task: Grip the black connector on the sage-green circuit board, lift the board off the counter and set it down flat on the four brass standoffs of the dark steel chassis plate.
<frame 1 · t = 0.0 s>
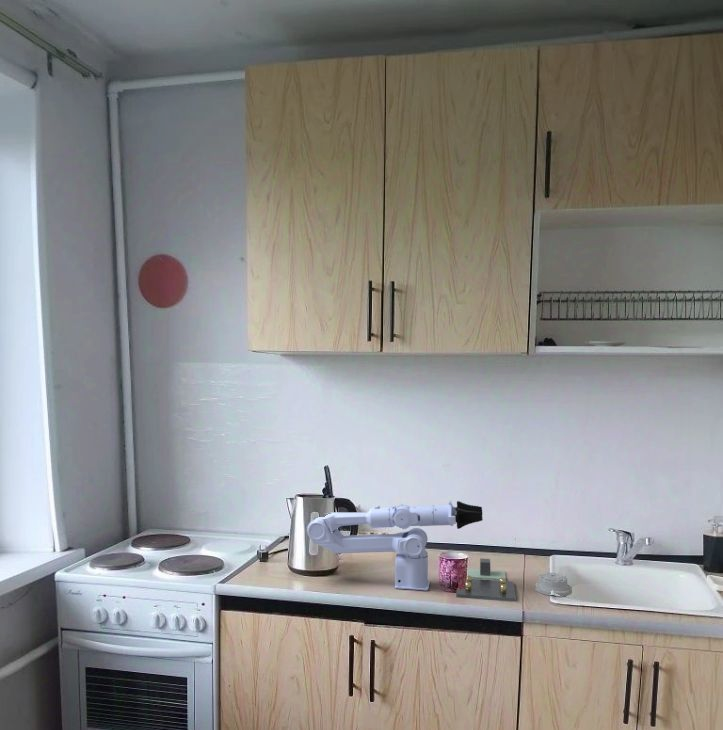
hand: (482, 513, 175), 22 cm above the counter, tool horizontal, fingers open, 7 cm apart
chassis plate: (485, 590, 175), on the counter
circuit board: (485, 576, 188), on the counter
mechanical component: (553, 592, 175), on the counter
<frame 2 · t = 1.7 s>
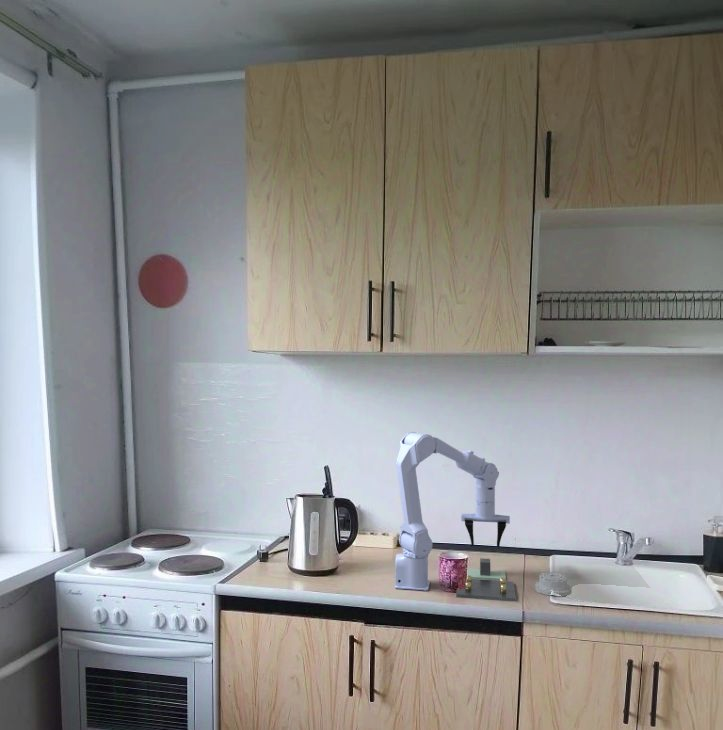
hand: (485, 545, 189), 9 cm above the counter, tool pointing down, fingers open, 7 cm apart
nothing on the counter moved.
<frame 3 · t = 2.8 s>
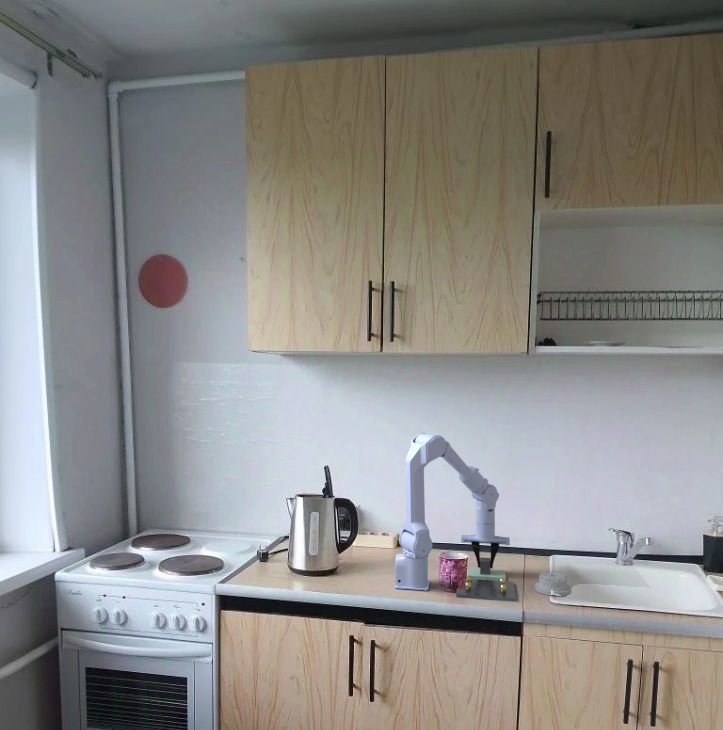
hand: (485, 567, 189), 2 cm above the counter, tool pointing down, fingers closed on circuit board, 3 cm apart
circuit board: (485, 576, 188), on the counter, touching gripper
everything else where it was.
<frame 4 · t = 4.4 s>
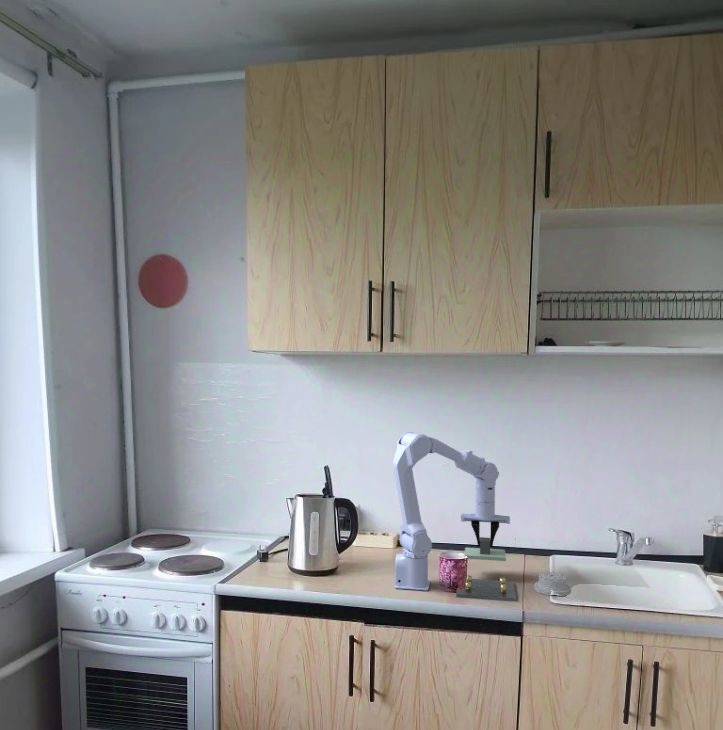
hand: (485, 546, 187), 9 cm above the counter, tool pointing down, fingers closed on circuit board, 3 cm apart
circuit board: (485, 555, 187), point 6 cm above the counter, touching gripper
everything else where it was.
when the fingers open (6 cm above the counter, at t = 5.9 s): circuit board stays where it is, resting on chassis plate.
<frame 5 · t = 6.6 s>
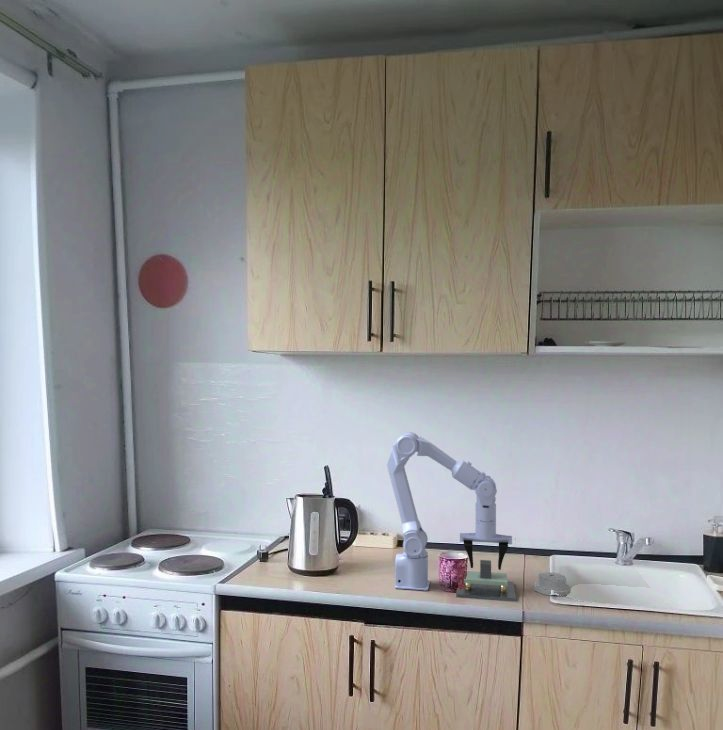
hand: (485, 567, 175), 6 cm above the counter, tool pointing down, fingers open, 7 cm apart
circuit board: (485, 579, 175), point 3 cm above the counter, touching chassis plate
everything else where it was.
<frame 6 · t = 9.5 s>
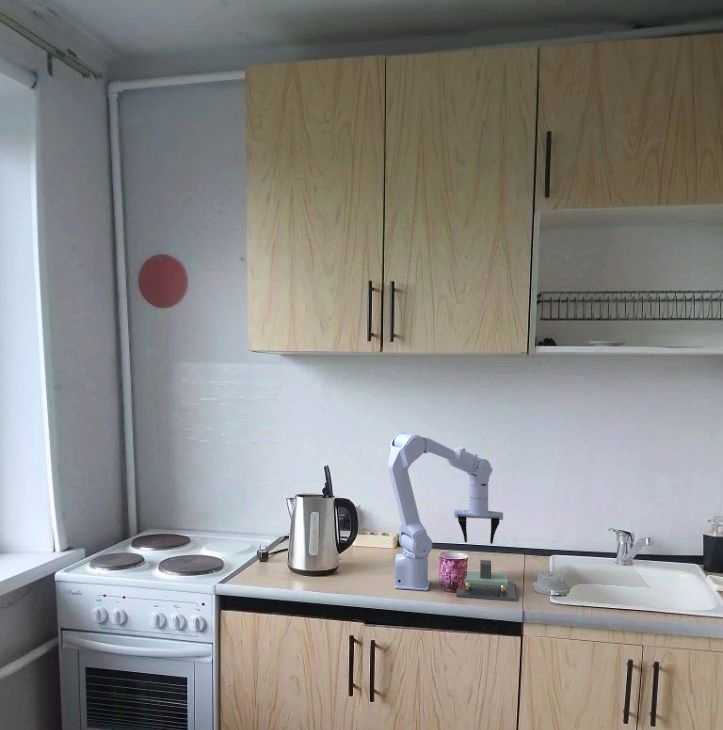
hand: (478, 542, 187), 10 cm above the counter, tool pointing down, fingers open, 7 cm apart
nothing on the counter moved.
at the end: circuit board 0.6 cm off-centre on the chassis plate, point 2.8 cm above the chassis plate's base; circuit board tilted 0°; the gripper is holding nothing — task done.
